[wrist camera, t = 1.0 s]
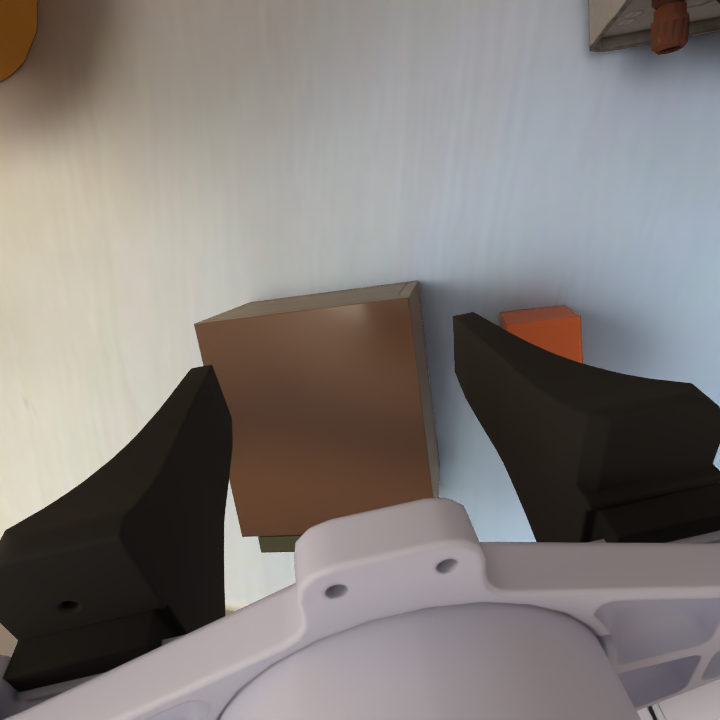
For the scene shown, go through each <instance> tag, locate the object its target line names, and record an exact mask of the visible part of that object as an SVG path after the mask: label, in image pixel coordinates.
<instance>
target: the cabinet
mask: <svg viewBox="0 0 720 720" xmlns="http://www.w3.org/2000/svg"><path fill="white" fill-rule="evenodd" d="M194 325H195V330H196V334H197V339H198V343H199V348H200V352H201V356H202V361H203V365H204V366H207V365H213V368H214V371H215V373H216V376H217V379H218V382H219V384H220V387H221V390H222V392H223V395H224V398H225V400H226V403H227V406H228V408H229V411H230V414H231V417H232V433H233V449H232V458H231V466H230V475H229V480H230V484H231V489H232V493H233V497H234V502H235V506H236V511H237V515H238V520H239V524H240V528H241V533H242V537H249V536H280V535H303V534H304V533H305V532H306V531H307V530H308V529H309V528H311V527H313V526H315V525H318V524H320V523H322V522H325V521H327V520H330V519H334V518H339V517H343V516H348V515H352V514H357V513H361V512H366V511H371V510H375V509H380V508H384V507H389V506H393V505H398V504H402V503H407V502H411V501H416V500H421V499H428V498H439V472H440V463H439V455H438V446H437V438H436V429H435V421H434V413H433V404H432V396H431V387H430V379H429V370H428V362H427V354H426V345H425V337H424V328H423V320H422V311H421V303H420V295H419V286H418V281H410V282H403V283H395V284H387V285H380V286H372V287H364V288H357V289H349V290H342V291H334V292H326V293H319V294H311V295H303V296H296V297H288V298H280V299H273V300H265V301H257V302H250V303H247V304H244V305H242V306H239V307H237V308H234V309H232V310H229V311H227V312H224V313H221V314H219V315H216V316H214V317H211V318H209V319H206V320H203V321H201V322H198V323H196V324H194Z"/></svg>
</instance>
